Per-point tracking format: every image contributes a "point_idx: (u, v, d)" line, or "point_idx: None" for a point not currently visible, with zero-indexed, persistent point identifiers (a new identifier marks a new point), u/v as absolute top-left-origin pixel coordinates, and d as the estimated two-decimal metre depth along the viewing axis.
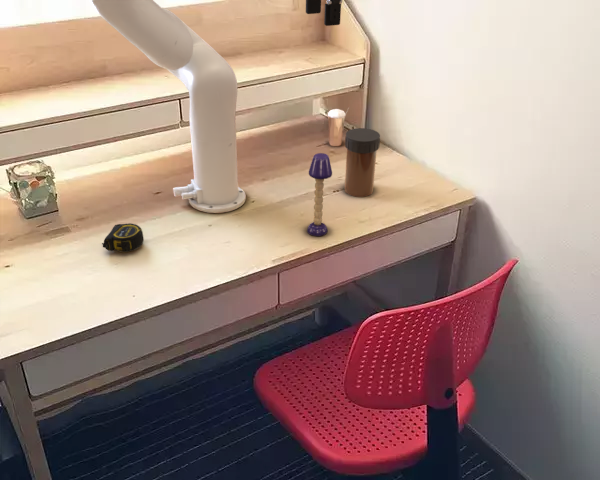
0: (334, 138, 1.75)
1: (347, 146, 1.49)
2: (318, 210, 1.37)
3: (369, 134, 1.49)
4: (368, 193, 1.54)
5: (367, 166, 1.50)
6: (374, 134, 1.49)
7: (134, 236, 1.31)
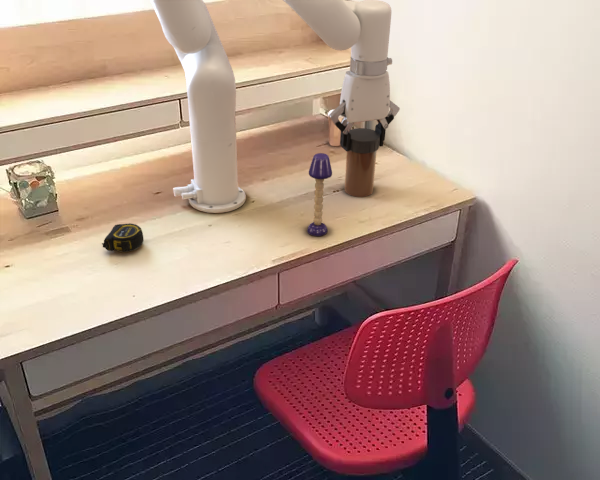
0: (334, 138, 1.75)
1: None
2: (318, 210, 1.37)
3: (369, 134, 1.49)
4: (368, 193, 1.54)
5: (367, 166, 1.50)
6: (374, 134, 1.49)
7: (134, 236, 1.31)
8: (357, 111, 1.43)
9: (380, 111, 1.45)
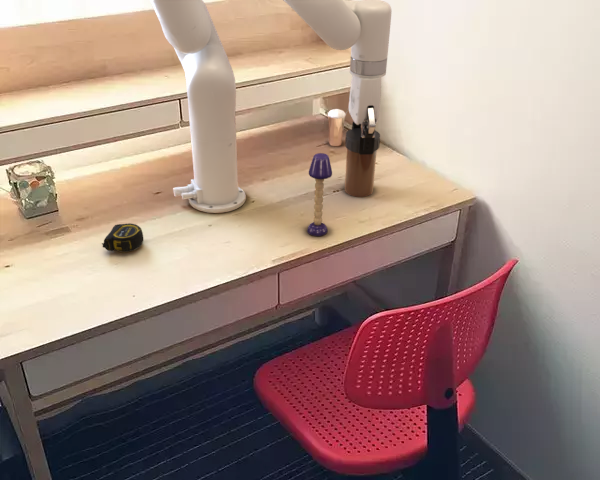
0: (334, 138, 1.75)
1: None
2: (318, 210, 1.37)
3: None
4: (368, 193, 1.54)
5: (367, 166, 1.50)
6: None
7: (134, 236, 1.31)
8: None
9: None
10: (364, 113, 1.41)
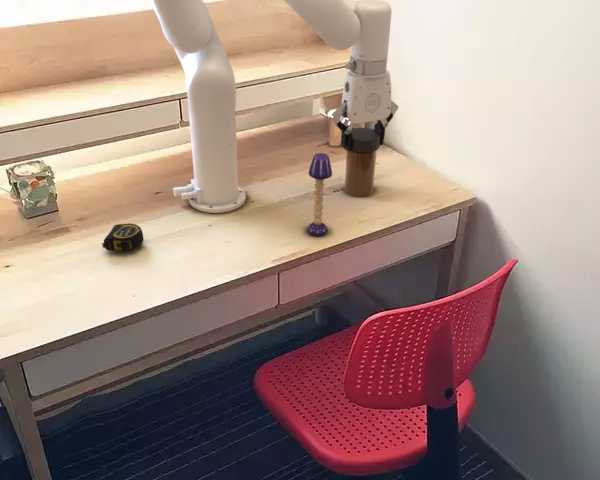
0: (334, 138, 1.75)
1: None
2: (318, 210, 1.37)
3: (356, 134, 1.49)
4: (368, 193, 1.54)
5: (367, 166, 1.50)
6: None
7: (134, 236, 1.31)
8: None
9: None
10: None
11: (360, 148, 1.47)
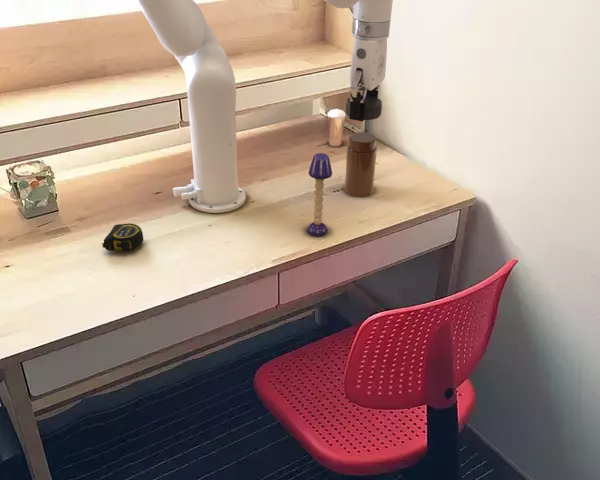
0: (334, 138, 1.75)
1: None
2: (318, 210, 1.37)
3: None
4: (368, 193, 1.54)
5: (367, 166, 1.50)
6: None
7: (134, 236, 1.31)
8: None
9: None
10: None
11: (373, 115, 1.43)
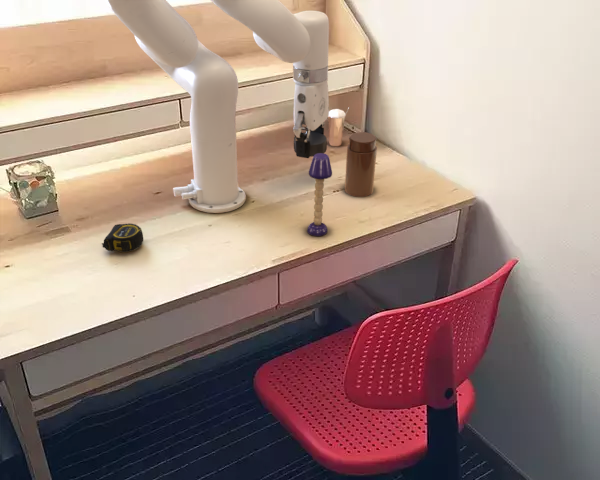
0: (334, 138, 1.75)
1: None
2: (318, 210, 1.37)
3: None
4: (368, 193, 1.54)
5: (367, 166, 1.50)
6: None
7: (134, 237, 1.31)
8: None
9: None
10: None
11: (318, 151, 1.54)
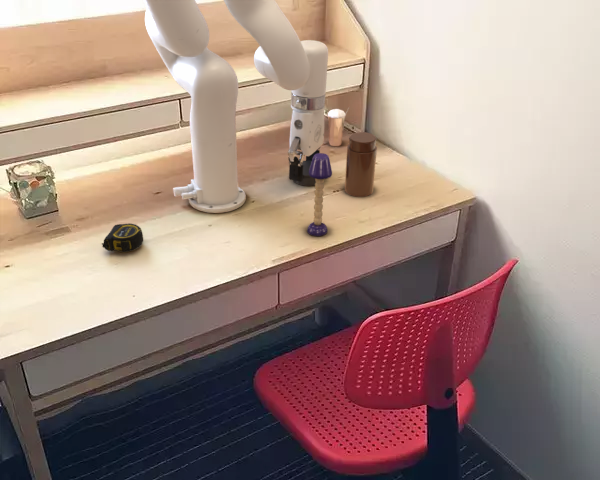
0: (334, 138, 1.75)
1: None
2: (318, 210, 1.37)
3: (304, 169, 1.58)
4: (368, 193, 1.54)
5: (367, 166, 1.50)
6: None
7: (134, 236, 1.31)
8: None
9: None
10: None
11: None
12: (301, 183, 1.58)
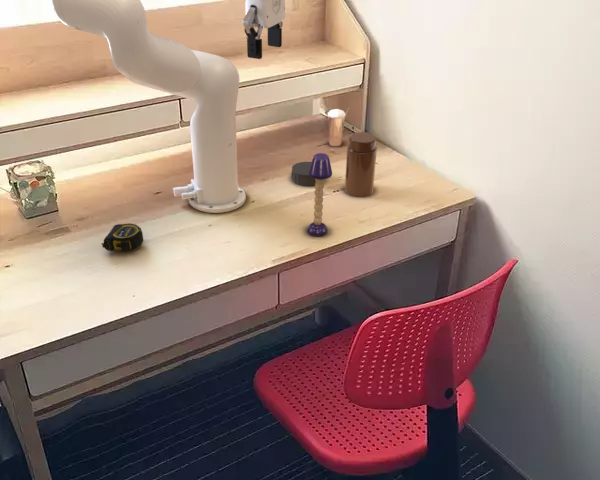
0: (334, 138, 1.75)
1: None
2: (318, 210, 1.37)
3: (304, 170, 1.58)
4: (368, 193, 1.54)
5: (367, 166, 1.50)
6: (300, 171, 1.58)
7: (134, 237, 1.31)
8: None
9: None
10: None
11: None
12: (301, 183, 1.58)
